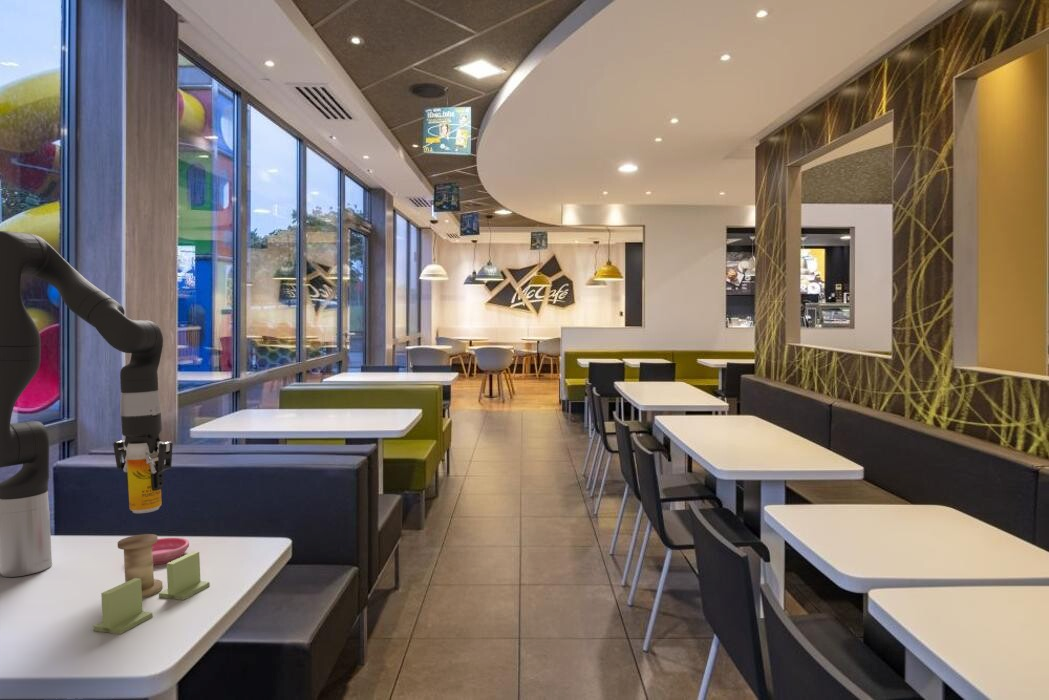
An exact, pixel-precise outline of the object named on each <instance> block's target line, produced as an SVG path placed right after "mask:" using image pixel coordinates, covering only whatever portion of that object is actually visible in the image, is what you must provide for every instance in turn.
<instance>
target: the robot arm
mask: <svg viewBox="0 0 1049 700" xmlns="http://www.w3.org/2000/svg"><path fill="white" fill-rule="evenodd" d="M22 276H34V277H36V278H39V280H43V281H44V282H46V283H48V284H50V286H52V287H54V289H56V291H57V292H58V293H59V295H60V297H61V298H62V300H63V302H64V304H65V306H67V308H68V309H70V310H69V311H71V312H73V313H74V314H75V315H76V316H77V317H79V318H80V319H82V320H83V321H85V322H86V323H88V325H90V326H92V327H93V328H95V329H96V331H97V332H98V333H99V335H100V336H101V337H102V339H104V341H106V343H108V344H109V346H111V347H112V348H114V349H115V350H117V351H119V352H122V353H125V354H131V355H130V360H129V362H128V363H127V364H126V365H124V366H122V368H121V369H120V371H119V372H120V373H119V378H120V379H119V380H120V383H119V384H120V402H119V405H120V406H119V409H120V422H121V423H120V424H121V425H120V426H121V435H122V436H124V437H125V438H124V440H119V441H114V442H113V444H112V445H113V450H114V451H113V452H114V456H115V463H116V468H117V469H118V470H123V472H124V473H125V484H126V485H125V486H127V487H126V488H127V489H128V472H127V453H126V448H127V446H128V443H129V442H130V444H131V443H132V444H141V443H147V445H148V447H149V452H150V453H151V454H152V453H153V451H155V452H157V451H158V457H157V458H153V459H151V458H150V456H149V454H147V453H146V464H149V467H150V470H151V472H152V473H153V474H151V484H152V490H153V491H157V490H160V489H161V490H162V489H163V487H164V472H165V471H166V470H169V469H171V468H172V461H173V446H174V445H173V442H172V441H162V440H161V438H160V433H161V432H162V431H163V429H162V428H163V425H162V405H161V404H162V403H161V397H160V391H159V381H158V380H159V376H158V375H159V374H158V369H159V367H160V363H161V356H162V352H163V347H164V337H163V333H162V330H161V328H160V326H159V325H158V324H156V323H155V322H153V321H151V320H147V319H145V320H144V319H140V320H139V319H138V320H137V319H130V318H129V317H127V316H126V315H125V313H126V312H125V309H124V307H123V306H122V304H120V302H118V301H117V300H115V299H114V298H113V297H111V296H110V295H108V294H107V293H106V292H104V291H103V290H101V288H98V287H97V286H95V284H93V283H92V282H90V281H89V280H88V279H86V278H85V277H84V276H83V275H82V274H81V273H80V272H79V271H77V269H75V268H74V267H73V266H72V265H71V264H70V263H69V262H68V261H67V260H66V259H65V258H64V257H62V255H61V254H60V253H59V252H58V251H57V250H56V249H55V248H54V247H53V246H52V245H51V244H49V242H48V241H46V240H45V239H44V238H42V237H41V236H39V235H37V234H35V233H34V234H33V233H30V232H29V233H28V232H20V231H19V232H18V231H10V230H9V231H8V230H7V231H6V230H0V468H6V467H12V466H18V465H22V466H21V468H20V470H18V471H17V472H16V473H15V474H14V475H12V476H11V477H9V478H7V479H4V480H2V481H1V482H0V575H1V576H2V577H4V578H5V577H6V578H15V577H23V576H28V575H32V574H33V575H34V574H35V573H40V572H42V571H45V570H47V569H49V568H50V567H51V566H52V565H53V562H52V561H53V559H52V558H53V556H52V538H51V520H50V519H51V518H50V517H51V516H50V500H49V479H50V438H49V433H48V430H47V428H46V426H45V425H44V423H42V422H41V421H38V420H36V421H35V420H32V421H31V420H30V421H24V422H22V421H21V422H16V423H15V422H14V423H11V422H12V421H11V420H12V416H13V411H14V408H15V405H16V403H17V401H18V399H19V397H21V395H22V393H23V392H24V391H25V389H26V388H27V387H28V386H29V384H30V383H31V381H32V380H33V378H34V377H35V376H36V374H37V373H38V371H39V368H40V366H41V357H42V356H41V354H42V353H41V351H42V349H41V347H42V345H41V344H42V341H41V334H40V332H39V331H40V330H39V329H38V327H37V325H36V324H35V321H34V320H33V318H32V316H31V315H30V314H29V311H28V310H27V308H26V306H25V304H24V301H23V297H22V296H23V295H22V284H21V281H22ZM154 462H157V467H156V465H155V463H154Z"/></svg>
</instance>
